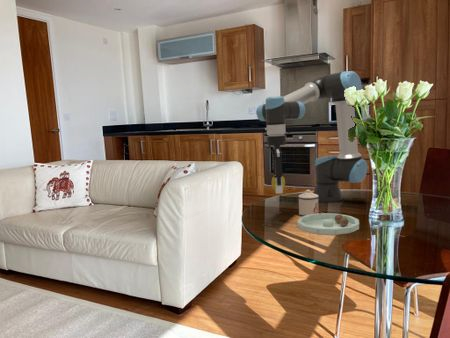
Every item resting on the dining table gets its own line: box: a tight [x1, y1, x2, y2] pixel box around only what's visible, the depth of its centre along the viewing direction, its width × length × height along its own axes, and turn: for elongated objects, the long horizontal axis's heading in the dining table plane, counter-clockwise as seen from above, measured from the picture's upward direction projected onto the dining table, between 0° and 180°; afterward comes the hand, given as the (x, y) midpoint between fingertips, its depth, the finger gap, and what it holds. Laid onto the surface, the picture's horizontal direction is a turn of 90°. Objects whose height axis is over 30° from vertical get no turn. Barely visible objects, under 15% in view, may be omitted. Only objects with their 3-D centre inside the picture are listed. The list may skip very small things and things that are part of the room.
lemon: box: [271, 173, 286, 191], centre depth 149 cm, size 6×6×8 cm
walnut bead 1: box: [335, 213, 343, 223], centre depth 145 cm, size 4×4×4 cm
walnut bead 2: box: [339, 217, 349, 226], centre depth 141 cm, size 4×4×4 cm
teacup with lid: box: [297, 189, 320, 216], centre depth 164 cm, size 12×9×12 cm
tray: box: [296, 212, 360, 236], centre depth 143 cm, size 23×23×4 cm
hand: (278, 191), depth 150 cm, fingers closed on lemon, 5 cm apart
